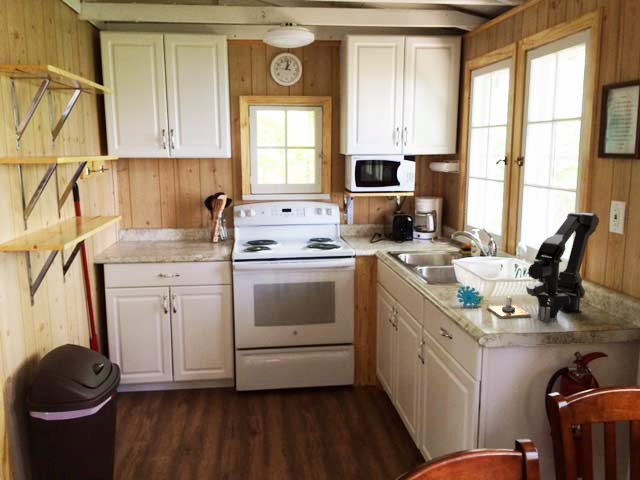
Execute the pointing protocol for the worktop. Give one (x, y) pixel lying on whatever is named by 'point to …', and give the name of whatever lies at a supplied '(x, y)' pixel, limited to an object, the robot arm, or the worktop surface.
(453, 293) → the worktop surface
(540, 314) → the hub
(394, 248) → the worktop surface
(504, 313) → the shaft stand
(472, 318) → the worktop surface
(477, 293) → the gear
